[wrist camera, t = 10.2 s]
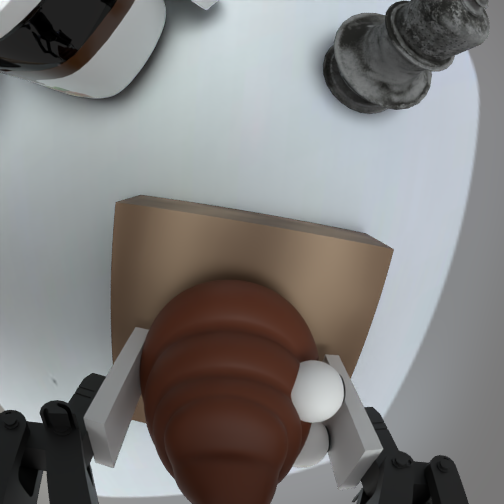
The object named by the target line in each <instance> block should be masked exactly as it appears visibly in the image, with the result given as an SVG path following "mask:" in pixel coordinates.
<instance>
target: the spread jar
mask: <svg viewBox="0 0 504 504" xmlns="http://www.w3.org/2000/svg"><path fill="white" fill-rule="evenodd" d="M191 1H193V2H194V3H195V4H197V5H198V6H200V7H201V8H203V9H205V10H208V9H209V8H210V7H211V6H212V5H214V4H215V3H216V2H217V1H219V0H191ZM165 19H166V7H165V3H164V0H0V72H1V73H4V74H6V75H10V76H13V77H17V78H21V79H24V80H27V81H30V82H33V83H36V84H39V85H42V86H45V87H47V88H50V89H53V90H56V91H59V92H62V93H66V94H69V95H73V96H78V97H85V98H108V97H111V96H114V95H116V94H118V93H119V92H121V91H122V90H123V89H124V88H126V86H127V85H128V84H129V83H130V82H131V81H132V80H133V79H134V78H135V76H136V75H137V74H138V73H139V71H140V70H141V69H142V67H143V66H144V64H145V63H146V61H147V60H148V58H149V57H150V55H151V53H152V52H153V50H154V48H155V46H156V44H157V42H158V40H159V38H160V35H161V33H162V30H163V27H164V24H165Z"/></svg>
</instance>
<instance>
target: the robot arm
mask: <svg viewBox="0 0 504 504" xmlns="http://www.w3.org/2000/svg"><path fill="white" fill-rule="evenodd" d="M148 331H149V330H148V329H143V328H138V327H135V329H134V331H133V332H132V334H131V336H130V337H129V339H128V341H127V342H126V344H125V346H124V347H123V349H122V351H121V352H120V354H119V356H118V357H117V359H116V361H115V362H114V364H113V366H112V368H111V369H110V371H109V373H108V375H107V376H106V377H105V376H102V375H98V374H95V373H92V374H90V375H89V376H87V377H86V378H84V379H83V381H82V382H81V384H80V385H79V388H78V389H77V390H76V392H75V394H74V395H73V396H72V398H71V400H70V401H69V403H66V402H64V401H58V400H56V401H50V402H48V403H46V404H44V405H43V406H42V407H41V410H40V415H41V418H42V421H43V423H36V422H29V421H26V419H25V417H24V416H23V415H22V414H21V413H20V412H18V411H16V410H7V411H4V412H2V413H0V504H37V499H38V494H39V488H40V484H41V479H42V474H43V471H47V483H48V493H49V501H50V504H99V502H98V498H97V493H96V489H95V484H94V479H93V474H92V469H91V466H90V462H91V459H92V457H93V456H94V459H95V463H99V464H102V465H105V466H108V467H112V468H114V466H115V463H116V460H117V457H118V454H119V452H120V449H121V446H122V443H123V441H124V438H125V435H126V432H127V430H128V427H129V424H130V422H131V419H132V417H133V414H134V411H135V409H136V406H137V403H138V401H139V398H140V396H141V387H140V360H141V354H142V349H143V345H144V342H145V339H146V336H147V334H148ZM323 362H324V363H326V364H328V365H330V366H331V367H333V368H334V369H335V370H336V371H337V372H338V374H340V375H341V376H342V378H343V380H344V383H345V390H346V395H345V400H344V402H343V404H342V405H341V407H340V408H339V410H338V411H337V412H336V413H335V414H334V415H333V416H332V417H330V418H329V419H327V420H324V421H321V422H322V423H323V424H324V426H326V427H327V428H328V431H329V434H330V449H329V451H328V455H329V458H330V462H331V465H332V469H333V472H334V476H335V479H336V483H337V487H338V489H339V490H340V489H350V488H355V487H356V486H357V485H358V484H359V482H360V481H361V482H362V485H363V488H362V489H361V490H360V492H359V493H358V494H357V495H356V496H355V498H354V499H353V501H352V502H355V501H356V500H357V499H358V500H357V504H469V503H468V500H467V497H466V494H465V491H464V488H463V485H462V482H461V479H460V476H459V474H458V471H457V468H456V465H455V464H454V462H453V461H452V460H451V459H450V458H448V457H446V456H441V455H439V456H435V457H434V458H433V459H432V460H431V461H430V462H429V463H425V462H415V461H413V459H412V458H411V457H410V456H409V455H408V454H406V453H404V452H401V451H399V450H398V448H397V446H396V444H395V442H394V440H393V438H392V436H391V434H390V432H389V430H387V426H386V425H385V423H384V421H383V419H382V417H381V415H380V413H379V412H377V411H376V410H375V409H374V408H373V407H364V406H363V404H362V402H361V400H360V398H359V396H358V394H357V392H356V390H355V388H354V386H353V383H352V381H351V379H350V377H349V375H348V373H347V371H346V369H345V367H344V365H343V363H342V361H341V359H340V357H339V355H327V354H325V356H324V359H323Z"/></svg>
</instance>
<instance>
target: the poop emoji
mask: <svg viewBox="0 0 504 504" xmlns="http://www.w3.org/2000/svg"><path fill="white" fill-rule="evenodd" d="M318 360H319V356H318V351H317V347H316V344H315V341H314V338H313V336H312V333H311V331H310V329H309V327H308V325H307V323H306V322H305V320H304V319H303V317H302V316H301V314H300V313H299V312H298V311H297V310H296V308H295V307H294V306H293V305H292V304H291V303H290V302H289V301H287V300H286V299H285V298H284V297H282V296H281V295H279V294H278V293H276V292H274V291H273V290H271V289H269V288H267V287H264V286H262V285H259V284H256V283H252V282H247V281H241V280H215V281H209V282H205V283H201V284H198V285H195V286H193V287H191V288H188V289H186V290H185V291H183V292H181V293H180V294H178V295H177V296H175V297H174V298H173V299H172V300H171V301H169V302H168V303H167V304H166V305H165V306H164V308H163V309H162V310H161V311H160V312H159V314H158V315H157V317H156V318H155V320H154V321H153V323H152V325H151V327H150V329H149V331H148V334H147V336H146V339H145V342H144V345H143V349H142V354H141V360H140V387H141V394H142V399H143V403H144V413H145V419H146V424H147V427H148V430H149V433H150V436H151V438H152V441H153V443H154V445H155V447H156V450H157V453H158V455H159V457H160V459H161V461H162V463H163V465H164V466H165V468H166V469H167V471H168V472H169V473H170V475H171V476H172V477H173V478H174V479H175V481H176V483H177V485H178V487H179V489H180V490H181V492H182V493H183V495H184V496H185V497H186V498H187V499H188V500H189V501H190V502H191V503H192V504H270V503H271V501H272V499H273V496H274V494H275V491H276V487H277V484H278V483H280V482H281V481H282V480H283V478H284V477H285V476H286V475H287V474H288V472H289V471H290V469H291V468H292V466H293V467H297V468H307V467H311V466H313V465H315V464H317V463H319V462H320V461H321V460H322V459H323V458H324V456H325V455H326V453H327V452H328V451H329V449H330V434H329V431H328V428H327V427H326V426H324V424H323V423H322V422H321V421H324V420H327V419H329V418H330V417H332V416H333V415H334V414H335V413H336V412H337V411H338V410H339V408H340V407H341V405H342V404H343V402H344V400H345V395H346V390H345V383H344V380H343V378H342V376H341V375H340V374H338V372H337V371H336V370H335V369H334V368H333V367H331V366H330V365H328V364H326V363H324V362H321V361H318Z"/></svg>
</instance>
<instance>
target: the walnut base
mask: <svg viewBox="0 0 504 504" xmlns="http://www.w3.org/2000/svg"><path fill="white" fill-rule="evenodd" d="M393 251H394V249H392V248H391V247H389V246H387V245H385V244H384V243H382V242H380V241H378V240H377V239H375V238H373V237H371V236H369V235H368V234H366V233H361V232H356V231H351V230H346V229H341V228H336V227H331V226H326V225H321V224H316V223H310V222H305V221H300V220H294V219H289V218H283V217H278V216H272V215H266V214H261V213H255V212H249V211H243V210H237V209H231V208H225V207H219V206H213V205H206V204H200V203H193V202H187V201H180V200H173V199H166V198H159V197H152V196H145V195H139V196H135V197H132V198H128V199H125V200H121V201H118V202H116V205H115V216H114V228H113V243H112V264H111V338H112V358H113V364H114V362H115V361H116V359H117V357H118V356H119V354H120V352H121V351H122V349H123V347H124V346H125V344H126V342H127V341H128V339H129V337H130V336H131V334H132V332H133V331H134V329H135V327H138V328H143V329H148V330H149V329H150V327H151V325H152V323H153V321H154V320H155V318H156V317H157V315H158V314H159V312H160V311H161V310H162V309H163V308H164V306H165V305H166V304H167V303H168V302H169V301H171V300H172V299H173V298H174V297H175V296H177V295H178V294H180V293H181V292H183V291H185V290H186V289H188V288H191V287H193V286H195V285H198V284H201V283H205V282H209V281H215V280H241V281H247V282H252V283H256V284H259V285H262V286H264V287H267V288H269V289H271V290H273V291H274V292H276V293H278V294H279V295H281V296H282V297H284V298H285V299H286V300H287V301H289V302H290V303H291V304H292V305H293V306H294V307H295V308H296V310H297V311H298V312H299V313H300V314H301V316H302V317H303V319H304V320H305V322H306V323H307V325H308V327H309V329H310V331H311V333H312V336H313V338H314V341H315V344H316V347H317V351H318V356H319V360H318V361H321V362H323V359H324V356H325V354H327V355H339V357H340V359H341V361H342V363H343V365H344V367H345V369H346V371H347V373H348V375H349V377H350V379H351V376H352V374H353V371H354V369H355V366H356V364H357V361H358V359H359V356H360V354H361V351H362V348H363V346H364V343H365V340H366V337H367V335H368V332H369V329H370V326H371V323H372V320H373V317H374V314H375V311H376V308H377V305H378V302H379V299H380V296H381V293H382V289H383V286H384V283H385V279H386V276H387V273H388V269H389V266H390V262H391V258H392V255H393ZM131 420H135V421H139V422H143V423H146V419H145V413H144V403H143V399H142V394H141V396H140V398H139V401H138V403H137V406H136V409H135V411H134V414H133V417H132V419H131Z"/></svg>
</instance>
